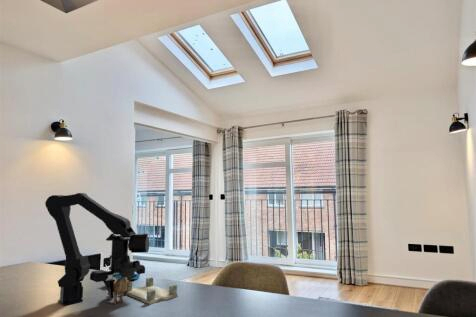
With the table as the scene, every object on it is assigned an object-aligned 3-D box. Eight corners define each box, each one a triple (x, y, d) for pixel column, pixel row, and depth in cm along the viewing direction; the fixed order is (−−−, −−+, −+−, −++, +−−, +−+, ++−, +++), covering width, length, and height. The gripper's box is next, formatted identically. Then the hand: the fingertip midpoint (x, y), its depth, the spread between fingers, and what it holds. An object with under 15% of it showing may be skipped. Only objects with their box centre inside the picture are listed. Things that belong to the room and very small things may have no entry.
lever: (124, 289, 148) (99, 288, 132) (127, 273, 150) (102, 270, 134) (137, 290, 146) (113, 289, 130) (140, 274, 148) (116, 271, 132)
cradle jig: (149, 304, 112) (149, 292, 113) (123, 293, 125) (123, 282, 126) (177, 296, 121) (177, 285, 122) (150, 286, 134) (150, 277, 135)
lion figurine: (132, 303, 114) (133, 276, 115) (118, 306, 110) (119, 279, 111) (113, 294, 124) (115, 270, 125) (100, 297, 120) (101, 272, 121)
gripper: (104, 259, 106) (102, 308, 104) (153, 252, 119) (152, 295, 117) (90, 255, 113) (88, 300, 111) (138, 248, 127) (136, 289, 125)
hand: (117, 296), depth 116 cm, fingers closed on lion figurine, 4 cm apart
